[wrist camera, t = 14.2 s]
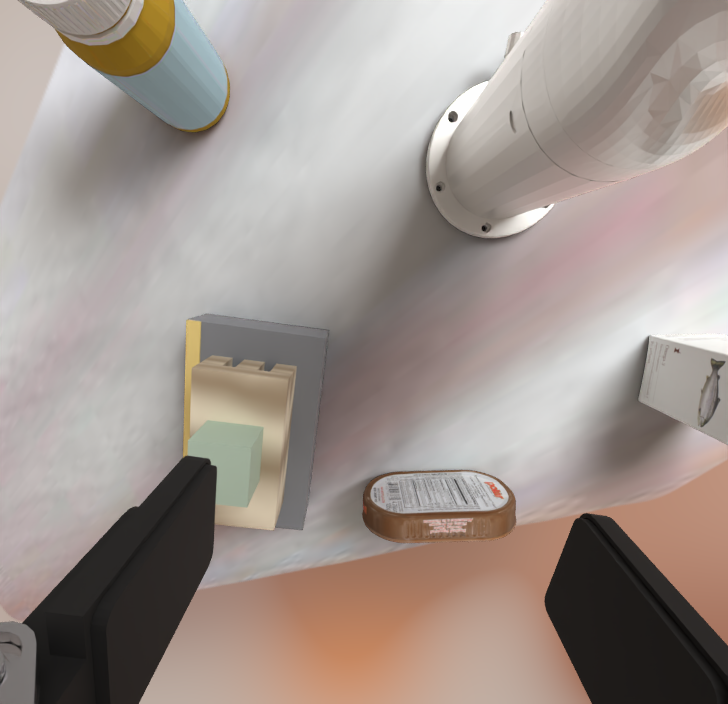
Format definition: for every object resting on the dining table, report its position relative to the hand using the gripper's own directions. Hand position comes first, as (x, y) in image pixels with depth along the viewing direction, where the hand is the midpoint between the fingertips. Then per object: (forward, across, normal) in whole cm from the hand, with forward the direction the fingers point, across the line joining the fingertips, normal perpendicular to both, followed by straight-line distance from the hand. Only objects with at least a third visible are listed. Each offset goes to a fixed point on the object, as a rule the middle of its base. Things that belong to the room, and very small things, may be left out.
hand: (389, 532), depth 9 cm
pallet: (+22, +10, +11) cm, 27 cm away
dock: (+26, +10, +11) cm, 30 cm away
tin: (+27, -9, +16) cm, 32 cm away
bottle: (+28, +19, -17) cm, 38 cm away
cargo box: (+18, +10, +11) cm, 23 cm away
